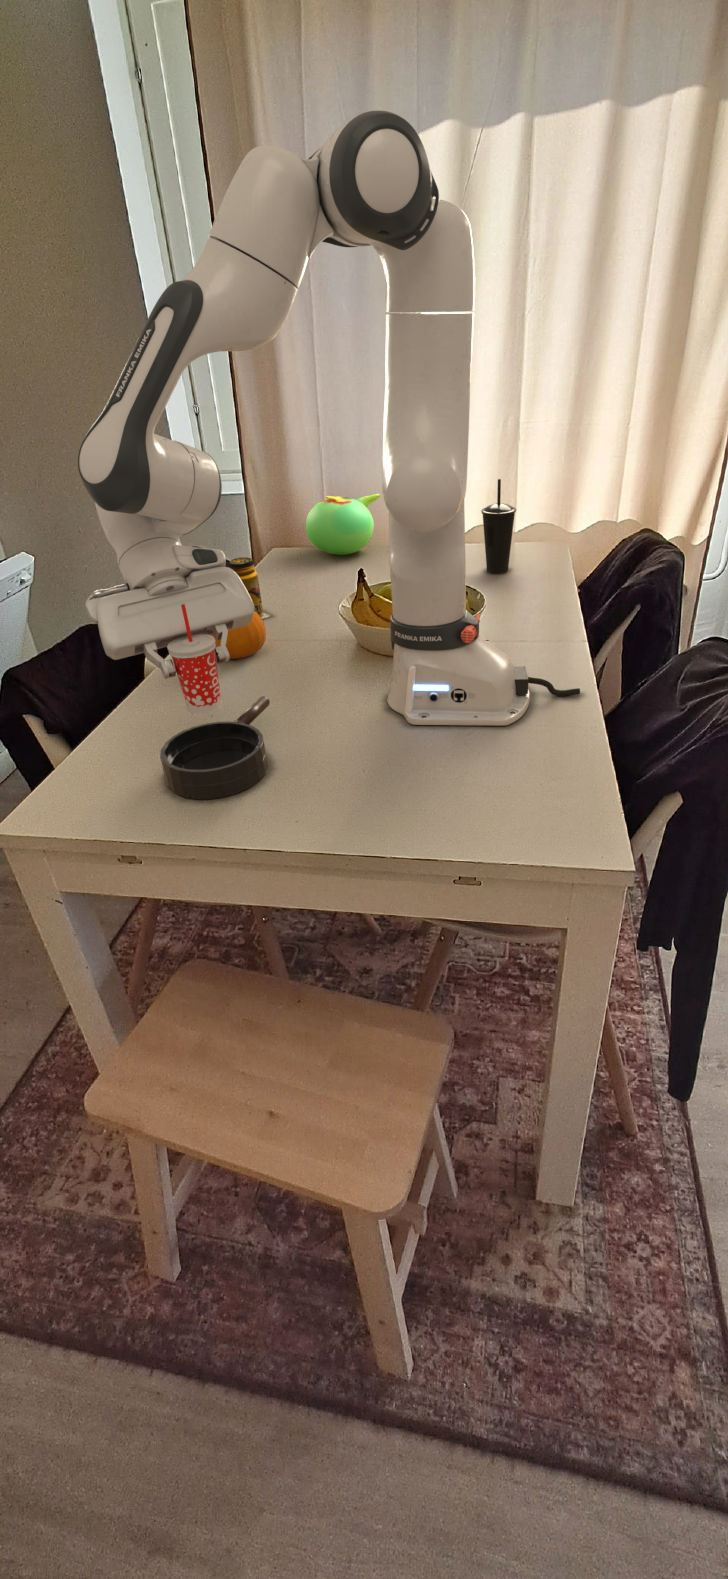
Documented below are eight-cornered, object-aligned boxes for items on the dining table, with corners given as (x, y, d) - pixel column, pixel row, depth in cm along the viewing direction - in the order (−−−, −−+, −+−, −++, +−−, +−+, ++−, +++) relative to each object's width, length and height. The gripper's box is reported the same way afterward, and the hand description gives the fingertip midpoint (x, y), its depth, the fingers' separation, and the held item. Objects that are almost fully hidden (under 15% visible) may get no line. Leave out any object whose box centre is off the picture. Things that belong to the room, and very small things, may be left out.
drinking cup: (516, 574, 174) (519, 481, 163) (482, 576, 174) (483, 484, 164) (511, 564, 180) (514, 474, 170) (479, 567, 181) (479, 477, 170)
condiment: (270, 616, 162) (262, 560, 156) (234, 626, 159) (224, 569, 152) (255, 608, 168) (247, 553, 161) (220, 618, 164) (210, 562, 158)
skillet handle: (242, 735, 112) (240, 724, 111) (231, 734, 112) (229, 723, 111) (272, 705, 119) (270, 694, 118) (262, 704, 120) (260, 693, 119)
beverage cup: (205, 720, 99) (183, 616, 92) (172, 711, 102) (147, 610, 95) (236, 700, 103) (217, 599, 96) (203, 692, 106) (182, 594, 99)
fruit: (233, 637, 153) (225, 588, 148) (280, 645, 148) (273, 594, 142) (194, 659, 145) (184, 608, 140) (242, 668, 140) (233, 615, 134)
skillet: (284, 754, 111) (280, 726, 109) (237, 806, 100) (232, 777, 98) (200, 743, 116) (194, 717, 114) (147, 792, 105) (139, 764, 103)
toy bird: (296, 556, 200) (289, 498, 192) (339, 540, 211) (334, 484, 203) (348, 565, 190) (342, 504, 182) (390, 548, 200) (387, 489, 192)
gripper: (79, 581, 95) (118, 679, 92) (233, 547, 102) (273, 637, 100) (81, 607, 100) (119, 700, 98) (227, 573, 108) (265, 658, 106)
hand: (198, 668), depth 99 cm, fingers closed on beverage cup, 6 cm apart
